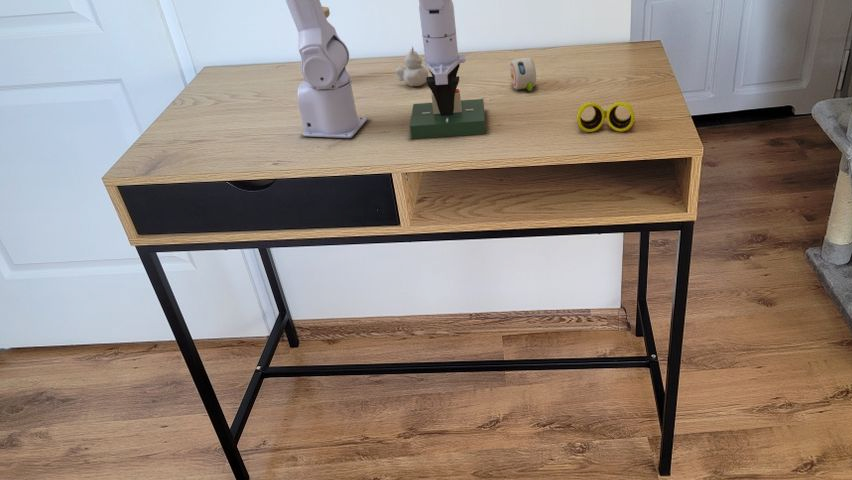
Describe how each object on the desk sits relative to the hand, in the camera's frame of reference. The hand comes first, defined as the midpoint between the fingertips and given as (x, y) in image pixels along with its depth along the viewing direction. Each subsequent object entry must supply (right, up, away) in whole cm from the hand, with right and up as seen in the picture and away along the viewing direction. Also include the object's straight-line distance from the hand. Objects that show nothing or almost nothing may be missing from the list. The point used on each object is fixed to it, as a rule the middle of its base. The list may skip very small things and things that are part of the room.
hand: (447, 109), depth 133 cm
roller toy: (+14, +7, +14) cm, 21 cm away
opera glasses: (+28, -4, -3) cm, 28 cm away
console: (0, -2, +2) cm, 3 cm away
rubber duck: (-8, +9, +19) cm, 23 cm away
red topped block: (0, 0, 0) cm, 0 cm away
